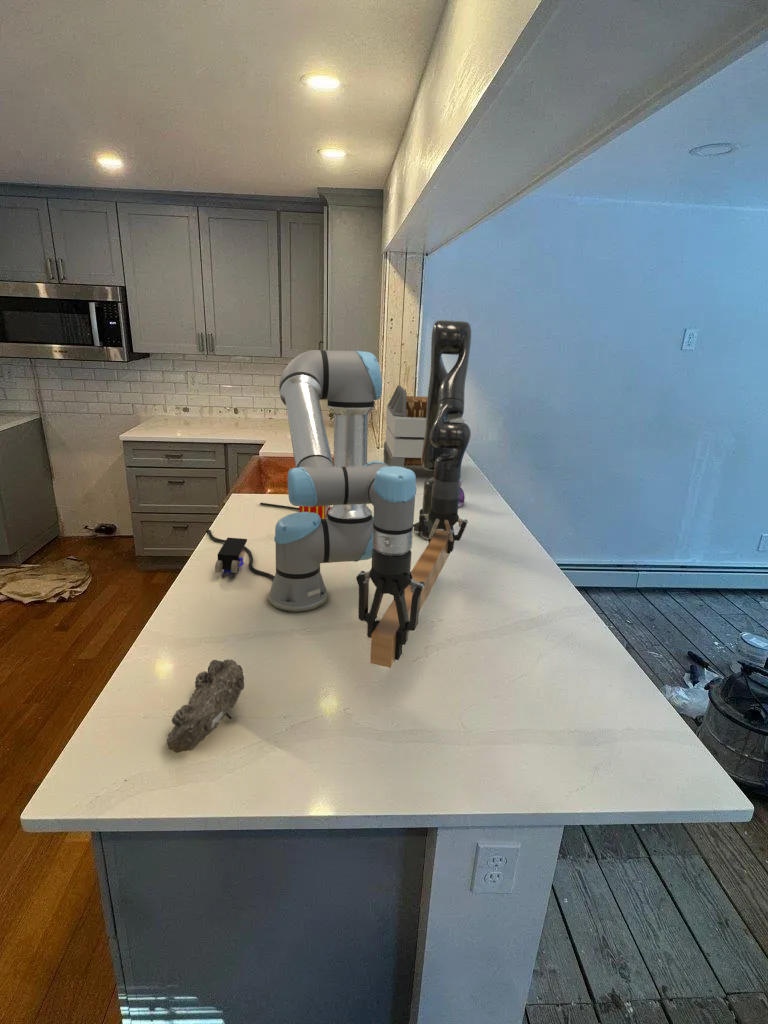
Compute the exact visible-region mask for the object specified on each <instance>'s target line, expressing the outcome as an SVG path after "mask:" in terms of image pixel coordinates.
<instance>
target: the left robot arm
mask: <svg viewBox="0 0 768 1024" xmlns="http://www.w3.org/2000/svg"><path fill="white" fill-rule="evenodd" d="M278 387H279V390H278V391H279V396H280V397H279V398H280V400H281V402H282V403H283V405H285V406H286V414H287V420H288V426H289V432H290V433H289V434H290V439H291V446H292V452H293V453H292V455H293V460H294V466H295V467H291V468H289V470H288V472H287V493H288V501H289V504H291V505H292V506H293V507H299V506H309V507H314V506H327V505H330V506H331V507H330V509H329V511H328V516H327V518H325V519H321V518H320V516H319V515H318V514H316V513H313V512H311V513H309V512H299V511H298V512H293V513H290V514H287V515H285V516H283V517H281V518H280V519H279V520H278V521H277V522H276V523H275V526H274V527H275V528H274V537H273V540H274V543H275V574H274V575H273V574H271V573H269V572H266V571H262V570H259V569H256V568H255V567H254V566H253V565H254V556H253V554H252V551H251V550H250V549H249V548H248V547H247V546H246V545H245V546H244V548H243V551H245V552H246V553H247V554H248V556H249V564H248V568H249V569H250V570H251V571H252V572H254V573H256V574H258V575H262V576H265V577H268V578H270V579H272V580H273V581H272V583H271V586H270V590H269V602H270V604H271V606H273V607H274V608H276V609H278V610H281V611H284V612H289V613H302V612H309V611H313V610H315V609H318V608H320V607H321V606H323V605H324V604H325V603H326V602H327V599H328V596H327V595H328V591H327V587H326V584H325V582H324V579H323V575H322V573H321V564H330V563H331V564H332V563H346V562H347V563H348V562H354V563H355V562H360V561H367V560H371V568H370V570H369V571H364V570H361V571H360V572H359V573H358V574H357V575H356V577H355V579H356V582H357V585H358V620H359V621H361V622H363V621H364V622H365V623H366V624H367V627H366V628H367V629H366V631H367V632H366V636H367V638H368V639H371V634H372V633H373V631H374V630H375V628H376V626H377V625H378V623H379V622H380V620H378V619H377V618H378V614H379V610H380V607H381V604H382V601H383V597H384V595H387V594H388V595H390V596H393V599H394V601H395V603H396V608H397V614H398V620H399V625H400V626H399V628H398V630H397V631H396V648H395V661H399V660H400V658H401V656H402V655H403V649H404V648H403V646H406V644H407V642H408V640H409V634H408V631H409V630H410V632H415V631H416V629H417V627H418V625H419V619H420V613H419V610H420V599H421V592H422V590H423V588H424V586H425V583H424V582H422V581H421V582H417V581H416V580H414V579H412V575H411V570H412V568H411V567H412V549H413V538H414V537H413V535H414V534H413V533H414V527H413V524H414V518H415V507H416V506H415V505H416V495H417V479H416V478H417V477H416V473H415V472H414V470H412V469H410V468H406V467H405V466H404V467H398V466H388V465H387V464H385V463H384V461H380V460H372V461H371V460H370V461H369V462H368V436H369V435H368V434H369V433H368V430H369V429H368V426H369V423H368V422H369V413H370V412H371V411H372V410H373V409H374V408H375V401H378V400H380V399H381V397H382V391H383V380H382V371H381V368H380V364H379V362H378V359H377V357H376V356H375V354H374V353H372V352H370V351H363V350H357V349H356V350H327V349H325V350H322V349H321V350H320V349H312V350H311V349H310V350H307V351H304V352H302V353H300V354H298V355H296V357H294V358H293V359H292V360H291V361H290V362H288V364H287V365H286V366H285V368H284V369H283V371H282V373H281V376H280V379H279V384H278ZM320 400H327V408H328V409H329V410H330V411H331V413H332V415H333V457H332V453H331V448H330V444H329V439H328V435H327V429H326V425H325V421H324V416H323V412H322V406H321V402H320ZM367 505H371V506H373V511H372V510H371V509H370V507H368V506H367ZM205 533H206V534H208V536H209V538H210V539H211V540H213V541H214V542H218V543H223V544H224V543H225V541H226V539H221V538H218V537H216V536H214V535H213V533H212V531H211V529H209V528H207V529H206V530H205ZM370 581H372V583H373V585H374V586H375V591H374V595H373V600H372V602H371V605H370V606H371V607H370V609H369V597H370V596H369V595H370V594H369V593H370V591H369V590H370V589H369V588H370V587H369V585H370V583H369V582H370ZM408 585H410V586H411V591H412V593H413V595H412V602H411V613H410V622H409V619H408V613H407V607H406V601H405V590H404V589H405V588H406V587H407V586H408Z"/></svg>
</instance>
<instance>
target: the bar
mask: <svg viewBox="0 0 768 1024" xmlns="http://www.w3.org/2000/svg"><path fill="white" fill-rule="evenodd" d="M448 541H449V537H448V534H447V531H442V530H437V531H436V533H435V535H434V536H433V538H432V539H431V541H430V542H429V541H428V544H427V545H426V547H425V548H424V550H423V552H422V554H421V555H420V557H419V558H418V559H417V561H416V563H415V564H414V566H413V568H411V570H410V572H411V575H412V579H414V580H416V581H417V582H421V581H422V582H424V583H425V586H424V588H423V590H422V592H421V599H420V610H419V614H420V612H421V610H422V609H423V607H424V605H425V603H426V601H427V599H428V597H429V595H430V594H431V591H432V590H433V588H434V586H435V584H436V582H437V580H438V578H439V576H440V574H441V573H442V570H443V568H444V566H445V564H446V563H447V561H448V558H449V557H450V555H451V553H450V554H449V553H447V552H448ZM404 590H405V601H406V607H407V613H408V619H409V622H410V613H411V602H412V595H413V593H412V591H411V586H410V585H408V586H407V587H406V588H405V589H404ZM379 621H380V622H379V623H378V625H377V626H376V628H375V630H374V631H373V633H372V634H371V638H370V664H372V665H375V666H376V665H377V666H380V667H385V668H389V669H391V668H392V667H393V665H394V663H395V661H396V660H395V648H396V631H397V630H398V628H399V626H400V625H399V620H398V614H397V608H396V603H395V601H394V598H393V599H392V601H391V602H390V604H389V606H388V607H387V609H386V611H385V612H384V613H383V615H382V617H381V618H380V620H379ZM410 632H411V630H409V631H408V635H409V634H410Z"/></svg>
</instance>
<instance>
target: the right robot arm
mask: <svg viewBox="0 0 768 1024" xmlns="http://www.w3.org/2000/svg"><path fill="white" fill-rule="evenodd" d="M430 340H431V341H430V345H431V346H430V347H431V348H430V371H429V372H430V373H429V383H428V389H427V391H428V392H427V397H428V398H427V412H426V428H425V436H424V442H423V449H422V457H421V462H422V466H421V467H422V468H423V470H426V471H433V476H432V477H429V478H427V479H425V480H424V482H423V493H422V496H423V497H422V506H421V508H420V509H419V516H418V522H415V523H413V531H415V532H417V535H418V536H420V538H421V539H424V540H426V541H428V543H429V542H430V541H431V539H432V538H433V536H434V535H435V533H436V531H437V530H442V531H447V534H448V537H449V541H448V552H447V553H449V554H450V555H451V553H453V551H454V549H455V542H456V541H457V542H459V541H460V540H461V538H462V536H463V534H464V531H465V530H466V528H467V525H468V523H469V521H468V519H462V518H461V517H460V516H459V513H458V511H459V507H458V503H459V495H460V487H461V486H460V480H461V474H460V470H461V471H462V462H463V459H464V456H465V454H466V453H465V452H466V450H467V448H468V447H469V446H468V445H469V443H470V440H471V435H472V432H471V431H472V430H471V428H470V426H469V425H468V424H467V423H465V422H464V423H459V422H450V421H451V420H455V419H458V418H460V417H461V416H462V417H463V415H464V413H465V389H466V388H465V387H466V381H467V380H466V379H467V374H468V368H469V360H470V353H471V347H472V345H471V344H472V326H471V324H470V323H469V322H467V321H463V320H448V319H447V320H445V319H440V320H436V321H435V322H434V324H433V326H432V329H431V339H430ZM442 355H453V356H458V357H457V359H456V361H455V363H454V365H453V367H452V368H451V369H450V371H449V372H448V371H447V369H446V367H445V364H444V361H443V356H442ZM462 417H461V418H462ZM259 505H260V506H267V507H274V508H281V509H288V510H293V511H299V507H297V506H288V505H283V504H282V505H281V504H276V503H275V504H274V503H268V502H260V503H259ZM326 517H328V514H326ZM457 523H458V527H459V529H458V532H457V534H455V529H454V528H455V527H454V526H455V525H456V524H457Z"/></svg>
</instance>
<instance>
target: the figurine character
mask: <svg viewBox="0 0 768 1024" xmlns="http://www.w3.org/2000/svg"><path fill="white" fill-rule="evenodd" d="M225 540H226V541H225V543H223V544H222V546H221V547H220V549H219V551H218V552H217V560H216V562H215V564H214V572H215V573H221V577H222V578H224V577H225V576H226V574H227V573H230V574H231V573H232V574H231V578H234V577H235V575H236V573H237V572H239V571H240V567H242V566H243V565H244V564H245V562H244V558H245V550H244V549H243V548H244V546H245V547H246V544H247V542H248V538H240V537H226V539H225Z"/></svg>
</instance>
